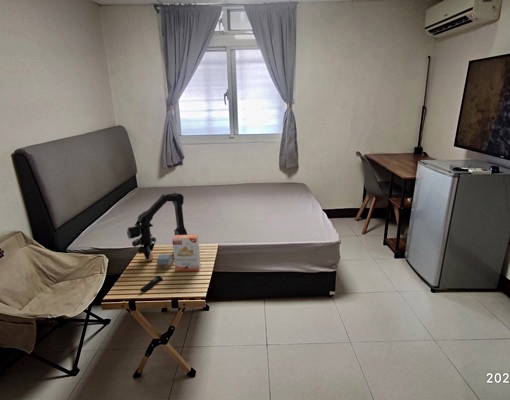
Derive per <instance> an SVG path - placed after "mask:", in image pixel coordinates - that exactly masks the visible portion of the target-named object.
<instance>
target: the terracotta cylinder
mask: <svg viewBox="0 0 510 400" xmlns="http://www.w3.org/2000/svg"><path fill="white" fill-rule="evenodd" d="M143 255H144V254H143ZM153 259H154V255H153V251H152V250H151V251H150V256H149V259H146V257H145V255H144V261H146V262H149V261H152V260H153Z"/></svg>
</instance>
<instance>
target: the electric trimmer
mask: <svg viewBox="0 0 510 400" xmlns="http://www.w3.org/2000/svg"><path fill="white" fill-rule="evenodd" d="M161 281H163V277H162V276H161V275H157V276H155V277H154V278H153V279H151V280H150V281H148V283H147V284H144V286H143V287H141V288H140V289H139V290H140V292H143V293H145V292H147V291H149V290H151V289H152V288H154V286H155V285H156V284H157V283H159V282H161Z"/></svg>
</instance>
